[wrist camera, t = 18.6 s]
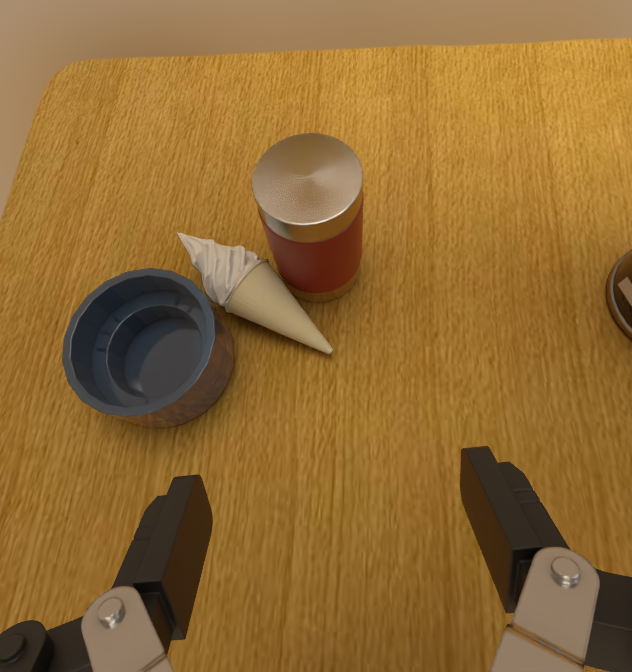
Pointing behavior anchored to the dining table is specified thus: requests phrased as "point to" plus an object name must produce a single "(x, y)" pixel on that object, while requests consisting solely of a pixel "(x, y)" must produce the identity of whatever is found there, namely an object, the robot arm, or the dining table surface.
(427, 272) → the dining table surface
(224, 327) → the bowl
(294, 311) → the ice cream cone
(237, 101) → the dining table surface
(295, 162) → the tin can
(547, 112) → the dining table surface
